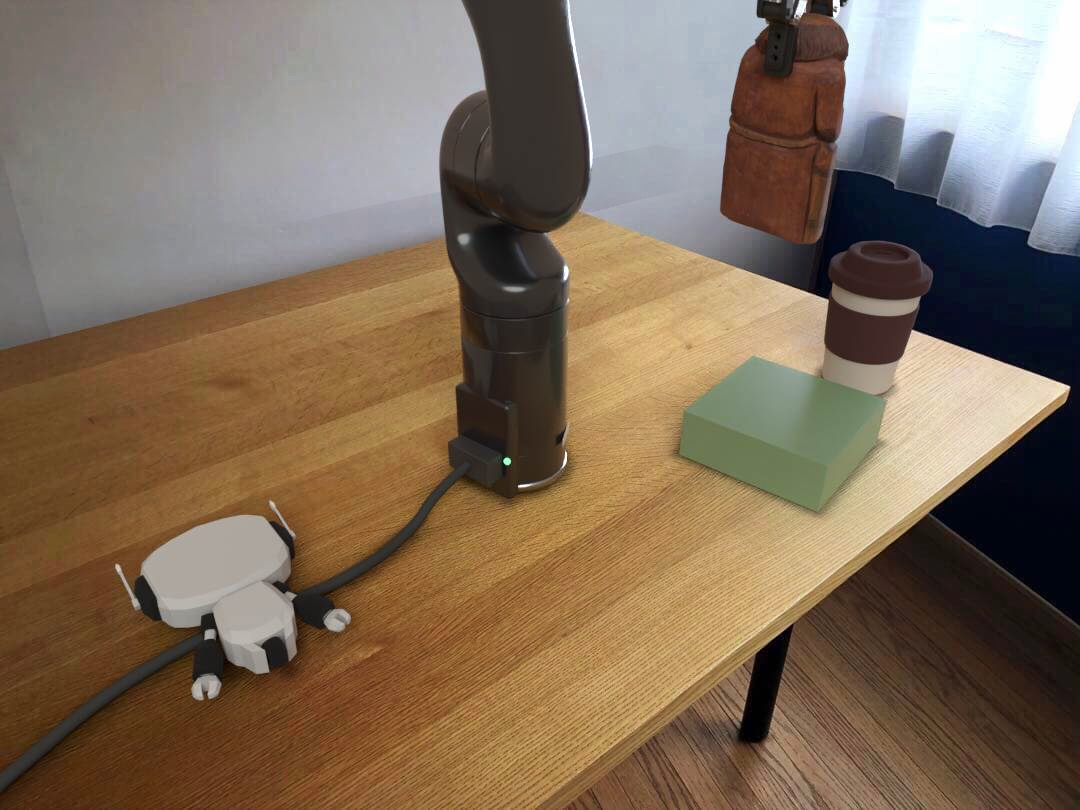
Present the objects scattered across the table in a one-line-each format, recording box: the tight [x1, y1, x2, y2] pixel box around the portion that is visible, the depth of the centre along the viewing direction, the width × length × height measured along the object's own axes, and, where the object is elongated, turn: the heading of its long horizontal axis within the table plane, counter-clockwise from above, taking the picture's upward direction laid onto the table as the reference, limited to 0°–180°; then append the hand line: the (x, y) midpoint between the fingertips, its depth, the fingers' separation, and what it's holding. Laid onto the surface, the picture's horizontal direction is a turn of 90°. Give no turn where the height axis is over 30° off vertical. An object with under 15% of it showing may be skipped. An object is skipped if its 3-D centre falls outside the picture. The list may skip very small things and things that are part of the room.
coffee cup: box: [821, 240, 934, 396], centre depth 91 cm, size 10×10×15 cm
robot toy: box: [114, 499, 352, 701], centre depth 63 cm, size 12×4×15 cm
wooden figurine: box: [719, 12, 850, 245], centre depth 75 cm, size 12×6×18 cm, turn 38°
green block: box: [678, 355, 888, 513], centre depth 82 cm, size 14×14×5 cm
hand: (794, 69), depth 72 cm, fingers closed on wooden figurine, 6 cm apart
